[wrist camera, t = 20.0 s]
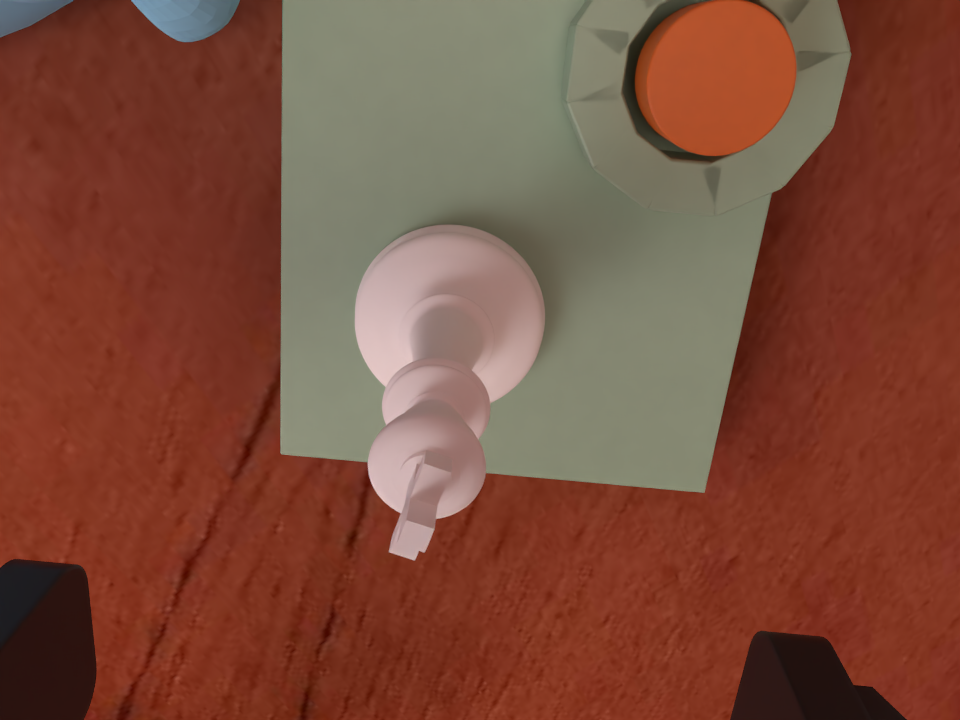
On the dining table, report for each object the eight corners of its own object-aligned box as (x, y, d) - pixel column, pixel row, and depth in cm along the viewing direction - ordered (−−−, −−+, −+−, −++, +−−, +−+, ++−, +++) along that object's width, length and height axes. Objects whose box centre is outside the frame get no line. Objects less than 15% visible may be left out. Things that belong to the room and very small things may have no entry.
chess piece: (574, 264, 21) (640, 450, 11) (504, 427, 22) (511, 705, 13) (389, 195, 20) (299, 331, 11) (332, 368, 22) (212, 614, 13)
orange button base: (817, -49, 20) (881, -65, 16) (704, 462, 25) (736, 526, 22) (301, -102, 19) (262, -130, 16) (295, 425, 25) (265, 483, 21)
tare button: (786, 9, 17) (813, 6, 16) (756, 153, 18) (778, 163, 17) (646, -6, 17) (660, -10, 16) (624, 140, 18) (635, 148, 17)
